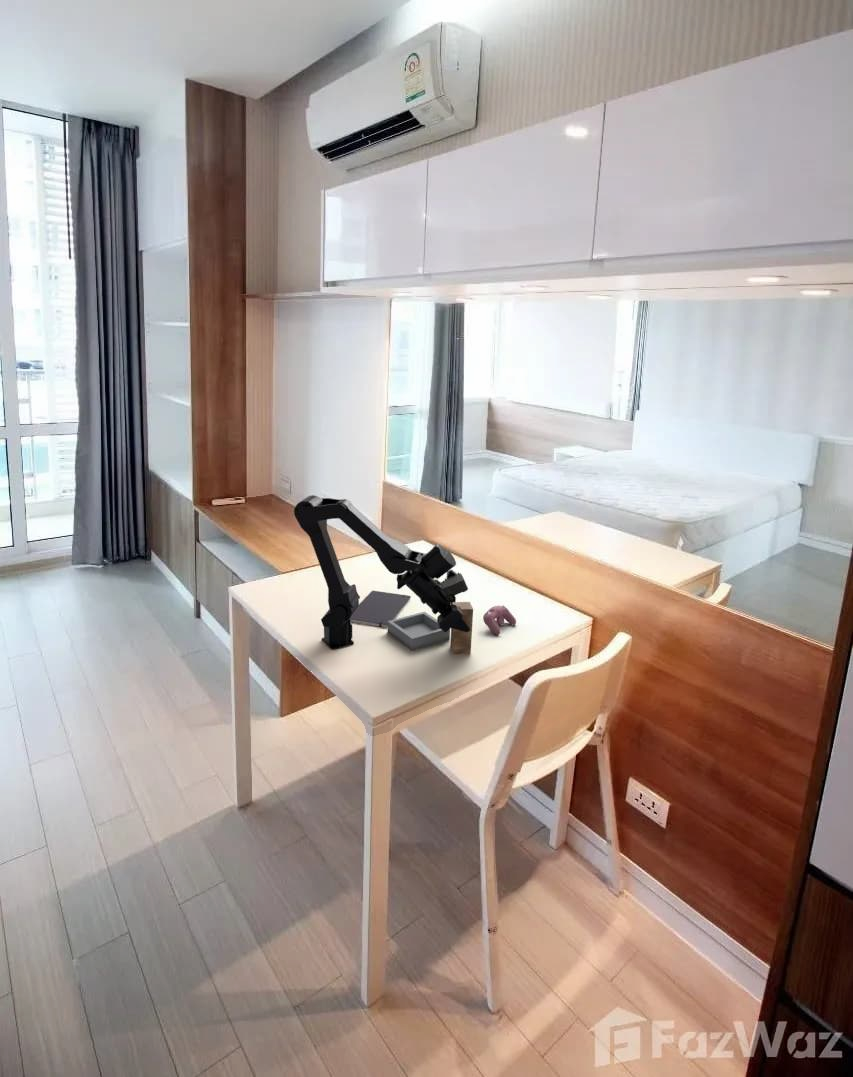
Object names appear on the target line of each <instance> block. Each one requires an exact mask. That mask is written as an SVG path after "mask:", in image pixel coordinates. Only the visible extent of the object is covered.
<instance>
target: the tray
mask: <svg viewBox="0 0 853 1077" xmlns="http://www.w3.org/2000/svg"><path fill="white" fill-rule="evenodd" d="M387 634H388V635H389V636H391V637H392V638H394V639H395V640H396V641H397V642H399V643H400V644H402V645H403V646H404V647H406V648H407V649H408V650H410V651H411V652H413V651H416V650H419V649H420V650H421V649H423V648H427V647H430V646H434V645H437V644H441V643H444V642H447V641H451V628H450V629H449V630H448V631H447V632H443V631H442V630H441V629H440V628H439V625H438V622H437V618H436V617H434V616H432V615H431V614H429V613H428V612H425V611H421V612H418V613H415V614H414V613H413V614H411V615H405V616H403V617H399V618H398V617H397V618H396V619H394V620H390V621H388V627H387Z"/></svg>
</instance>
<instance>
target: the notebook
mask: <svg viewBox="0 0 853 1077" xmlns="http://www.w3.org/2000/svg"><path fill="white" fill-rule="evenodd" d="M411 597H412V596H411V595H406V594H400V593H391V592H386V591H378V590H371V591H370V592H369V593H368V594H367V595H366V596H365V597H364V598H363V599H362V601H361V602H359V605H358V607H357V609H356V610H355V612H354V613H353V614H352V616H351V617H350V618H349V619H350V620H351V623H354V624H362V625H369V626H374V627H378V628H379V627H380V628H388V621H390V620H394V619H398V617H399V615H400V614H401V613H402V612H403V610H404V609H405V608H406V607H407V605H408V603H410V601H411Z"/></svg>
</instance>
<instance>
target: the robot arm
mask: <svg viewBox="0 0 853 1077" xmlns="http://www.w3.org/2000/svg"><path fill="white" fill-rule="evenodd" d="M293 514H294V515H293V516H294V517H295V520H296V522H297V523H298V525H299V527H300V529H302V530H303V531H304V532H305V534H306V535H307V536H308V537H309V539H310V541H311V542H310V543H311V544H312V547H313V550H314V553H315V556H316V558H317V560H318V564H319V566H320V569H321V572H322V574H323V577H324V578H323V579H324V580H325V582H326V586H327V590H328V592H327V595H328V596H327V603H328V607H329V608H328V610H327V611H326V613H325V614H324V615H323V616H322V618H321V619H320V620H321V623H322V626H323V637H322V638H321V642H323V643H324V644H325V645H326V646H327V647H328V648H329V649H330V650H332V651H334V650H338V649H341V648H345V647H348V646H351V645H354V644H355V641H354V640H352V639H353V624H352V622H351V620H350V619H349V618H350V617H351V616H352V614H353V613H354V612H355V610H356V609H357V607H358V605H359V604H360V598H361V596H360V595H359V593H358V592H357V586H356V584H355V583H354V584H351V585H350V584H349V583H348V582H347V580H346V579H345V576H344V574H343V571H342V567H341V565H340V561H339V559H338V556H337V554H336V550H335V549H334V546H333V545H334V544H333V543H332V540H331V539H332V538H331V537H330V534H329V532H328V520H333V519H336V520H337V519H339V520H340V521H341V522H342V523H343V524H345V525H346V526H347V527H348V528H349V529H351V531H352V532H354V533H355V534H356V535H357V536H358V537H359V538H361V540H363V541H364V542H365V543H366V544H367V545H368V546H370V548H372V549H373V551H375V553H376V554H377V557H378V559H379V560H380V562H381V563H382V565H383V566H384V567H385V568H386V570H387V571H388V572H390V573H391V574H393V575H396V582H397V585H396V588H397V590H400V589H402V588H403V587H404V586H406V587H407V588H408V589H409V590H410V591H412V593H414V594H415V595H416V596H417V597H418V598H419V600H420V602H421V603H422V604H423V605H426V606H427V607H429V608H430V609H431V612H432V613H433V614H434V616H435V615H437V614H439V615H437V618H436V619H437V622H438V625H439V628H440V629H441V630H442V631H443V632H447V631H448V630H449V629H450V630H451V628H453V629H457V630H460V631H464V632H469V631H470V628H469V627H468V625H467V624H466V623H465V621H464V620H463V619H462V617H463V614H462V611H461V608H460V607H458V606H456V605H452V602H457V599H456V598H457V597H456V596H457V595H459V594H461V593H466V592H467V591H468V590H469V587H468V585H467V583H466V581H465V578H464V577H463V575H462V573H460V572H459V571H458V572H456V571H454V570H453V568H454V567H455V566H456V565H457V561H456V559H455V557H454V556H453V554H452V553H451V551H450V550H447V549H446V548H445V547H443V546H441V545H440V544H439V543H436V544H435V545H434V546H433V547H432V548H431V549H430V550H429V551H427V552H426V553H424V552H420V551H416V550H413V549H411V548H410V547H409V546H408V545H406V544H404V543H402V542H401V541H399V540H397V539H395V538H392V537H390V536H388V535H387V534H385V533H384V531H382V530H381V529H380V528H379V527H378V526H377V525H376V524H375V523H373V522H372V521H371V520H370V519H369V518H368V517H367V516H365V514H363V513H362V512H361V511H360V510H359V509H358V508H357V507H355V506H354V504H353V503H352V502H351V501H350V500H349V499H345V498H343V499H338V498H336V499H335V498H329V497H322V498H321V497H319V496H317V495H313V494H312V495H308V496H306V497H305V498H303V499H302V500H301V501H299V502H298V503H297V504H296V505H295V507H294V509H293ZM445 574H446V577H445V578H444V580H443V581H439V579H440V578H441V577H443V576H444V575H445Z"/></svg>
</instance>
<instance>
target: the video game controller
mask: <svg viewBox="0 0 853 1077" xmlns="http://www.w3.org/2000/svg"><path fill="white" fill-rule="evenodd" d="M482 618H483V620H482V621H483V623H484V624H485V625H486V626H487V627H488V629H489V631H491V632H492V634H494V635H495V634H496V636H499V635H500V633H501V630H500V628H499V626H502V625H504V624H505V621H506V622H507V623H508V624H510V625H512V626H515V625H516V624H517V620H516V618H515V616H514V615H513V614H512V613H511V612H510V610H509V609H508V608H507V607H506V606H505V605H494V606H491V607H490V608H489V609H488V610H487V611H486V612H485V613H484V614H483V616H482Z"/></svg>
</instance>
